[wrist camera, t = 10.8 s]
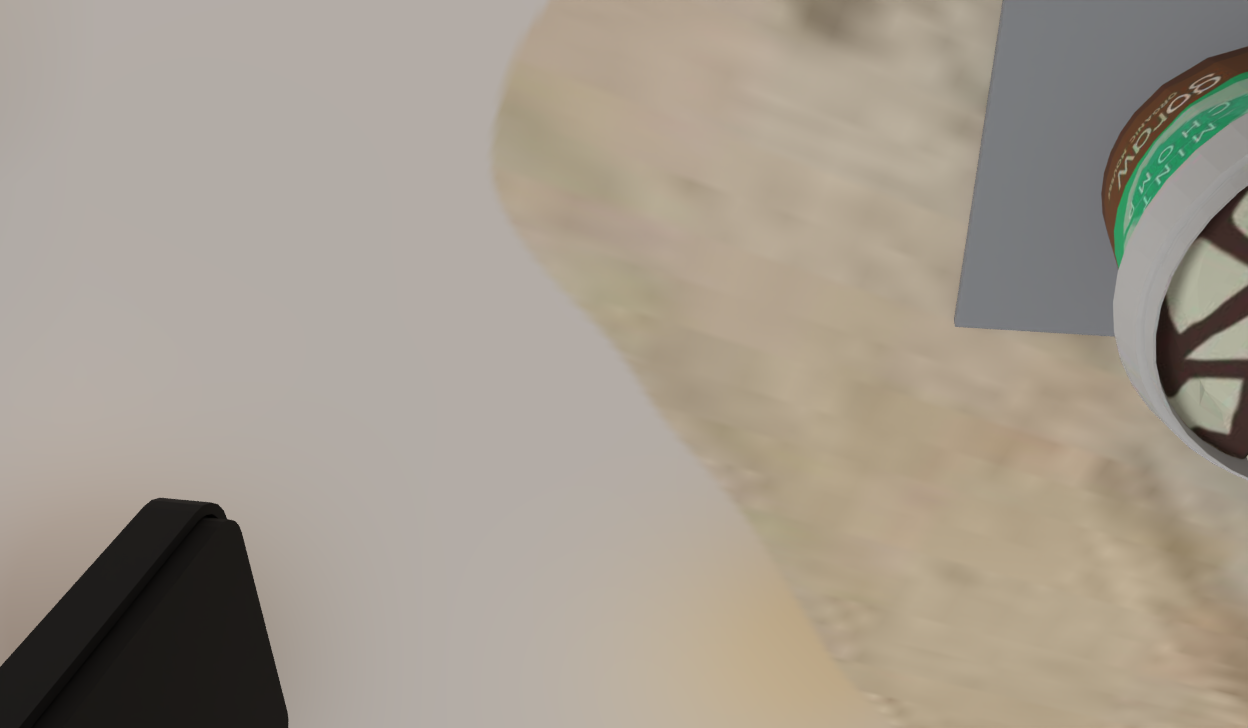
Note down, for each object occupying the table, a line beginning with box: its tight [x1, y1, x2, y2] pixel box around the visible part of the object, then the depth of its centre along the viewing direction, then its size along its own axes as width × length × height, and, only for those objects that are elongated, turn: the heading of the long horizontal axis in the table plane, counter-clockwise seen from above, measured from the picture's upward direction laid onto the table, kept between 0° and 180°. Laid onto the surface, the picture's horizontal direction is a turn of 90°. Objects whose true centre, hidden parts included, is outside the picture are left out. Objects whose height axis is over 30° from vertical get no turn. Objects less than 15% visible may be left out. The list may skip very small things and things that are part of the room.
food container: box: [1101, 46, 1248, 480], centre depth 32 cm, size 12×6×10 cm, turn 162°
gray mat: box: [954, 0, 1248, 336], centre depth 36 cm, size 14×15×1 cm
